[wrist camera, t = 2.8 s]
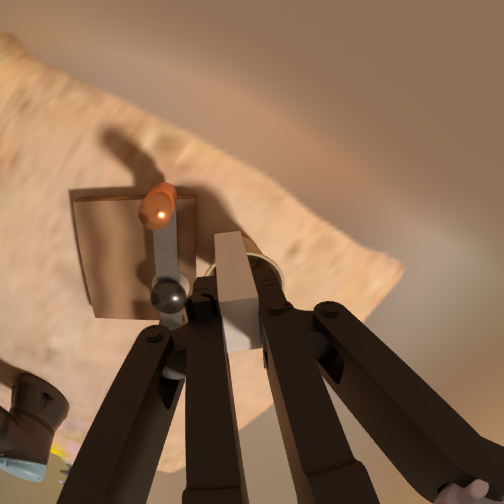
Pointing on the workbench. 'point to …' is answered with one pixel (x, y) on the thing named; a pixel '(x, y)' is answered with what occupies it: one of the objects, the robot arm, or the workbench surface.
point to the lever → (165, 253)
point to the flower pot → (254, 261)
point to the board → (128, 254)
